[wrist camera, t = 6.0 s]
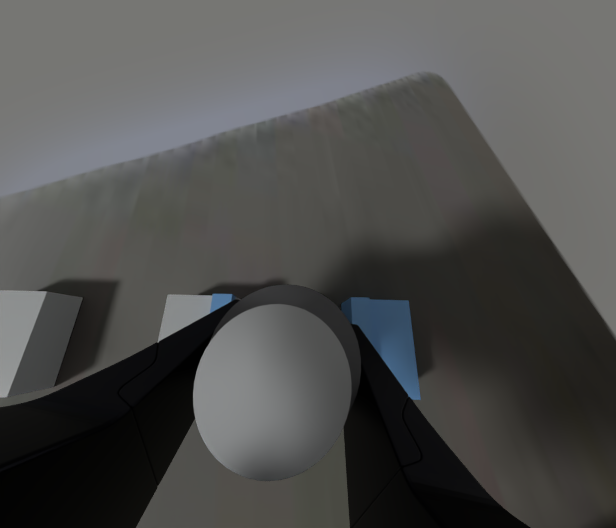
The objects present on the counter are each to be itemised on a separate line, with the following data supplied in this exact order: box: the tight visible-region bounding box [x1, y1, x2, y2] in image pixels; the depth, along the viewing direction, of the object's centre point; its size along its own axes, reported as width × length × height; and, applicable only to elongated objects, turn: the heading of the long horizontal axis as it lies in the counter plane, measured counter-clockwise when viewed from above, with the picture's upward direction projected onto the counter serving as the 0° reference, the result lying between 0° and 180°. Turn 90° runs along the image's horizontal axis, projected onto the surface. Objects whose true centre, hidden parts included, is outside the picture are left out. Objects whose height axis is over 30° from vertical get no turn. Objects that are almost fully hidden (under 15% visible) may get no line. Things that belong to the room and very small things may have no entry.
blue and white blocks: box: [0, 290, 421, 400], centre depth 14 cm, size 28×6×3 cm, turn 89°
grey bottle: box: [193, 285, 361, 481], centre depth 9 cm, size 6×6×12 cm
